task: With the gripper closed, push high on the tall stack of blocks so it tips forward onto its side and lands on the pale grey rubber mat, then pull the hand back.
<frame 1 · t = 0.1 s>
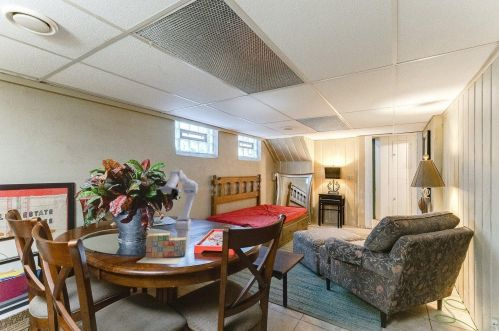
hand: (162, 201, 130), 32 cm above the table, tool tilted 50°, fingers open, 7 cm apart
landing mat: (159, 260, 126), on the table
stack of blocks: (166, 256, 134), on the table, touching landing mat
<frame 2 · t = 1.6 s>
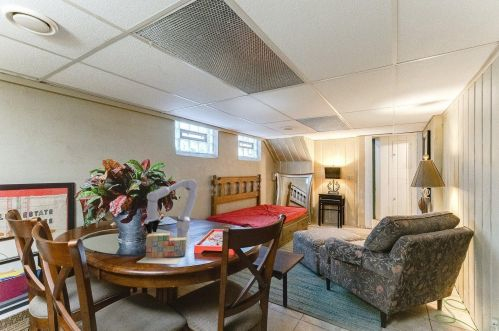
hand: (152, 233, 145), 10 cm above the table, tool pointing down, fingers open, 5 cm apart
nothing on the table moved.
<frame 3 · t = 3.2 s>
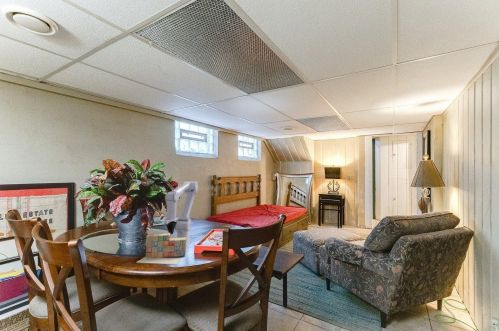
hand: (170, 234, 143), 10 cm above the table, tool pointing down, fingers closed
nothing on the table moved.
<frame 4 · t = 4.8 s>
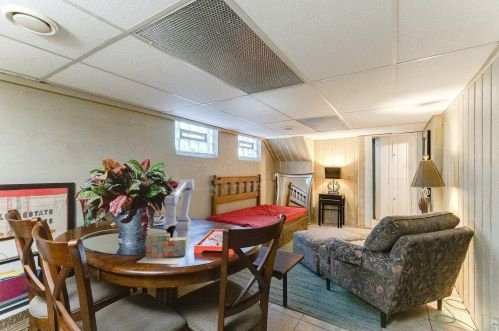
hand: (170, 238, 139), 9 cm above the table, tool pointing down, fingers closed
stack of blocks: (166, 255, 134), on the table, touching gripper, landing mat
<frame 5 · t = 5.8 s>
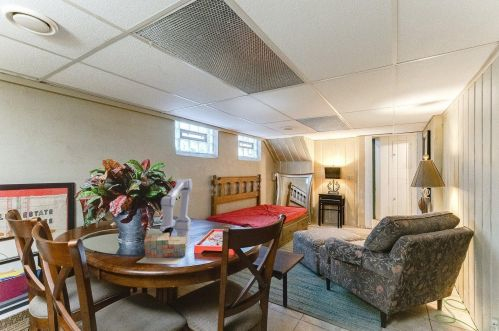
hand: (167, 240, 135), 8 cm above the table, tool pointing down, fingers closed
stack of blocks: (166, 253, 134), point 1 cm above the table, touching gripper, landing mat
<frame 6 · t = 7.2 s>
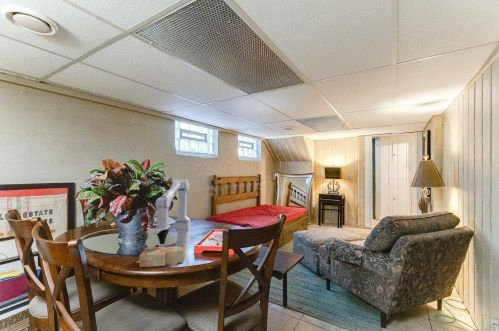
hand: (162, 243, 129), 8 cm above the table, tool pointing down, fingers closed
stack of blocks: (166, 251, 131), point 3 cm above the table, touching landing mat
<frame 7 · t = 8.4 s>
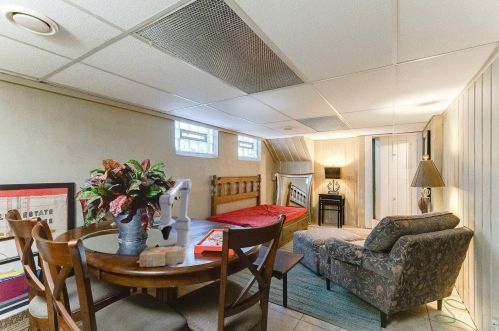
hand: (165, 239, 133), 10 cm above the table, tool pointing down, fingers closed
nothing on the table moved.
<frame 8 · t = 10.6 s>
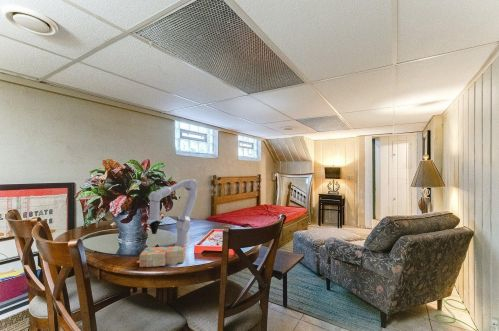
hand: (154, 233, 143), 10 cm above the table, tool pointing down, fingers closed
nothing on the table moved.
at the end: stack of blocks tilted 90°; stack of blocks inside the target area (4.4 cm from its centre), point 3.4 cm above the table; stack of blocks touching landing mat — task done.
